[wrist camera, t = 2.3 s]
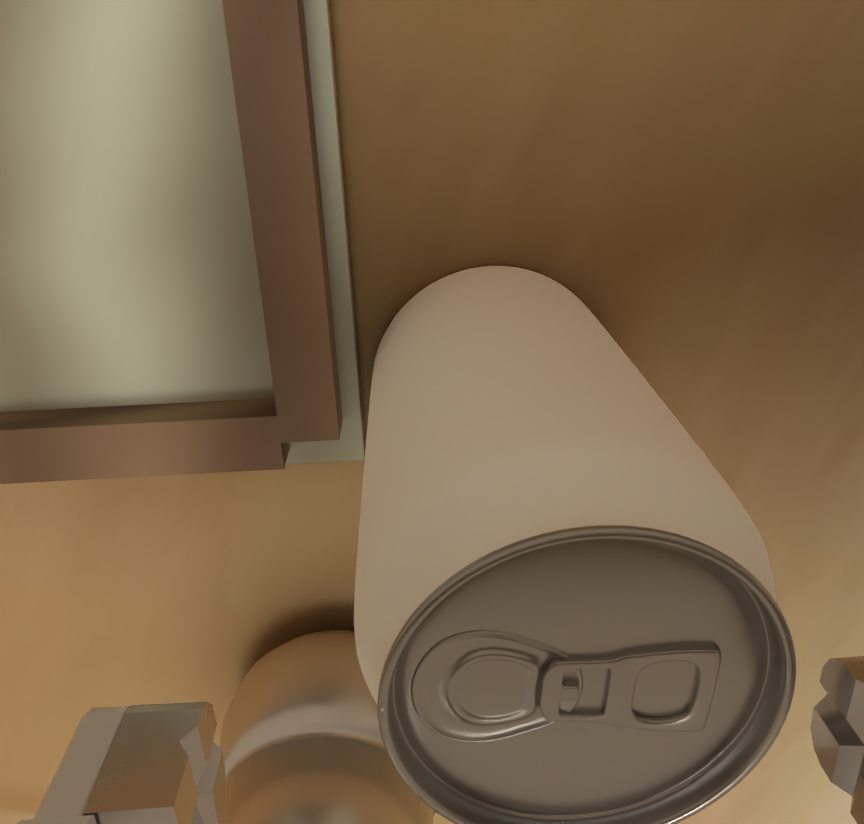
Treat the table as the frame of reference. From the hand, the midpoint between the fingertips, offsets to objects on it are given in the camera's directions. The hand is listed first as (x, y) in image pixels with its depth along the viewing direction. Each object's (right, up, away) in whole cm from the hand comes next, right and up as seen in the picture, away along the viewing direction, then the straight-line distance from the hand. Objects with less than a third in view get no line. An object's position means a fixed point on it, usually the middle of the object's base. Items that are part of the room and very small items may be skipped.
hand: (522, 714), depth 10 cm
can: (0, +5, +11) cm, 12 cm away
